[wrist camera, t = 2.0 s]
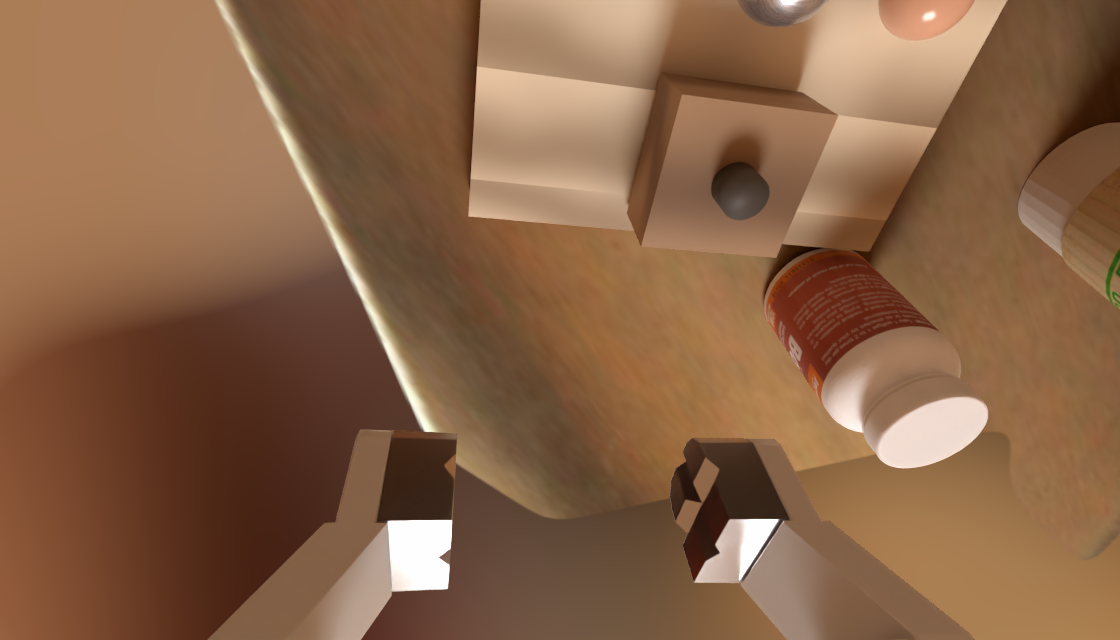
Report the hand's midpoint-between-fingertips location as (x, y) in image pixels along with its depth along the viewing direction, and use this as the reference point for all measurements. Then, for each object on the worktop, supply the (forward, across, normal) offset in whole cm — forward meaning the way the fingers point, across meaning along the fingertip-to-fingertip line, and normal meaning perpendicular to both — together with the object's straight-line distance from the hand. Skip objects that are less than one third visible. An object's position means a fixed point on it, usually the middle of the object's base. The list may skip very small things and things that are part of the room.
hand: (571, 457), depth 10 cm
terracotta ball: (+15, -14, -7) cm, 21 cm away
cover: (+16, -8, 0) cm, 18 cm away
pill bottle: (+19, -18, +8) cm, 28 cm away
